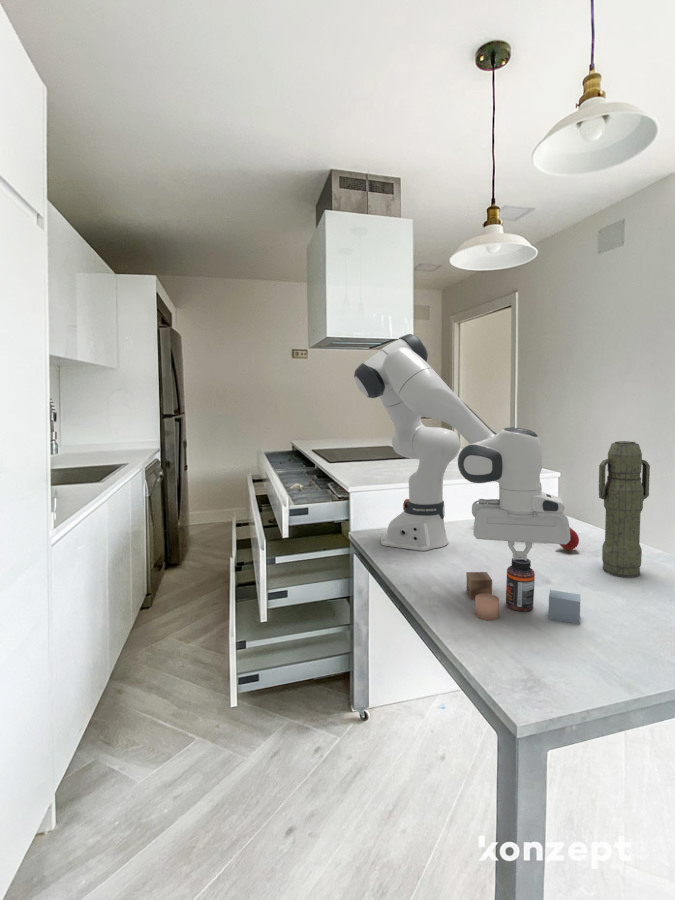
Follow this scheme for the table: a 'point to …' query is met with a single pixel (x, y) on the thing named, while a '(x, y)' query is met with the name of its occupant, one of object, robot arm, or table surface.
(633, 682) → the table surface
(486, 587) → the walnut cube
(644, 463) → the thermos
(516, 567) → the supplement bottle
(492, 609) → the peach rounded cylinder
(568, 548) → the onion
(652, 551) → the table surface
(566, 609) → the slate block
